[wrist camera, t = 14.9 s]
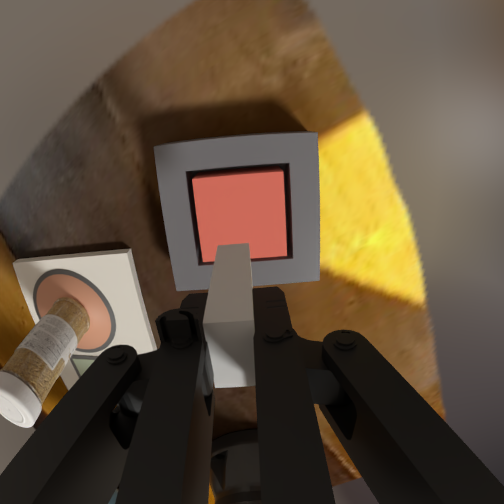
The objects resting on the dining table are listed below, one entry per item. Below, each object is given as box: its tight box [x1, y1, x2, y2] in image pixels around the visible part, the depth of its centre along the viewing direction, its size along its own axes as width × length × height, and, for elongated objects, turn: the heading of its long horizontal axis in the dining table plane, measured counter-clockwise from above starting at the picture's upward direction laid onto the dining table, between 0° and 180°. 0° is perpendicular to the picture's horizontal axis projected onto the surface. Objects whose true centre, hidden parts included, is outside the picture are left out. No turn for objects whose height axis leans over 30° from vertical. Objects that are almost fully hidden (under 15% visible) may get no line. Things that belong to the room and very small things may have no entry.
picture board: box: [13, 249, 157, 390], centre depth 30 cm, size 18×14×1 cm
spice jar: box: [0, 297, 90, 428], centre depth 22 cm, size 5×4×13 cm
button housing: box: [154, 131, 320, 291], centre depth 24 cm, size 11×11×4 cm
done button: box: [192, 166, 287, 262], centre depth 23 cm, size 6×6×3 cm
